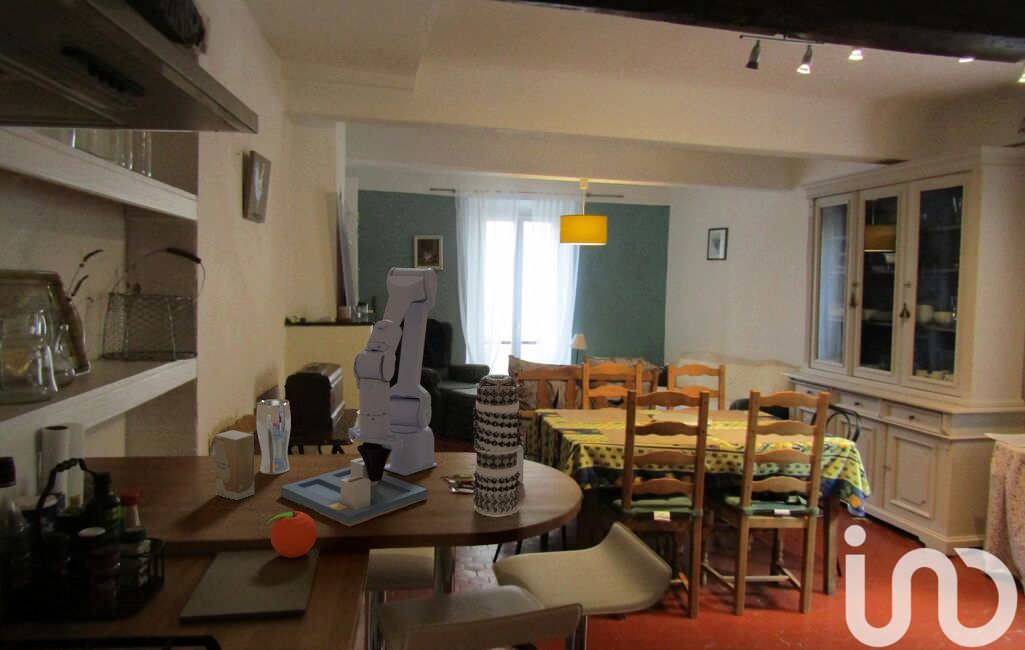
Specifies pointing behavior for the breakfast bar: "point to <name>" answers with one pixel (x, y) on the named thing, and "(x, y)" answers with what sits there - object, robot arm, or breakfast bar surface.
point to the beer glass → (273, 435)
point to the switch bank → (327, 495)
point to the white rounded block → (520, 463)
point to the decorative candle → (496, 445)
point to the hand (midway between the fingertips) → (375, 480)
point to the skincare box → (234, 464)
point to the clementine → (293, 534)
